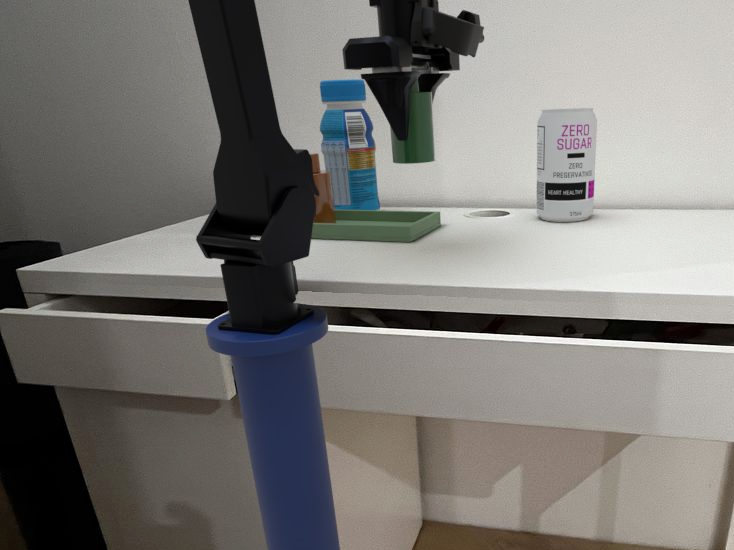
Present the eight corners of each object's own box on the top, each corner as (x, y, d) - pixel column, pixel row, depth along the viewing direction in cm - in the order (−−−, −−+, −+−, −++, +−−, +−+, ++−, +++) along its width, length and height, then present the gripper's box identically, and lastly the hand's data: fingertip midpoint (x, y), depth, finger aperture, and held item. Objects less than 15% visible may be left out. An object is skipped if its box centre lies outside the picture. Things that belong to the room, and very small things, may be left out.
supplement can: (562, 211, 97) (564, 108, 92) (604, 217, 91) (609, 107, 86) (525, 218, 92) (525, 110, 87) (566, 225, 86) (570, 110, 81)
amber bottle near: (325, 230, 86) (316, 155, 83) (294, 229, 88) (284, 155, 84) (343, 223, 91) (335, 152, 87) (313, 222, 92) (304, 152, 88)
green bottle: (425, 163, 70) (419, 66, 66) (385, 163, 72) (377, 69, 68) (441, 159, 75) (436, 67, 71) (403, 159, 76) (397, 70, 72)
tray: (410, 242, 80) (409, 226, 79) (209, 234, 89) (206, 220, 88) (440, 225, 89) (440, 211, 89) (256, 220, 99) (254, 207, 98)
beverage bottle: (321, 218, 98) (304, 80, 90) (338, 209, 106) (324, 81, 98) (373, 218, 97) (361, 78, 89) (386, 209, 104) (376, 79, 97)
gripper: (440, -38, 56) (448, 144, 62) (498, -10, 72) (500, 132, 78) (331, -26, 59) (349, 146, 65) (410, -2, 75) (419, 134, 81)
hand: (412, 138), depth 72 cm, fingers closed on green bottle, 5 cm apart
